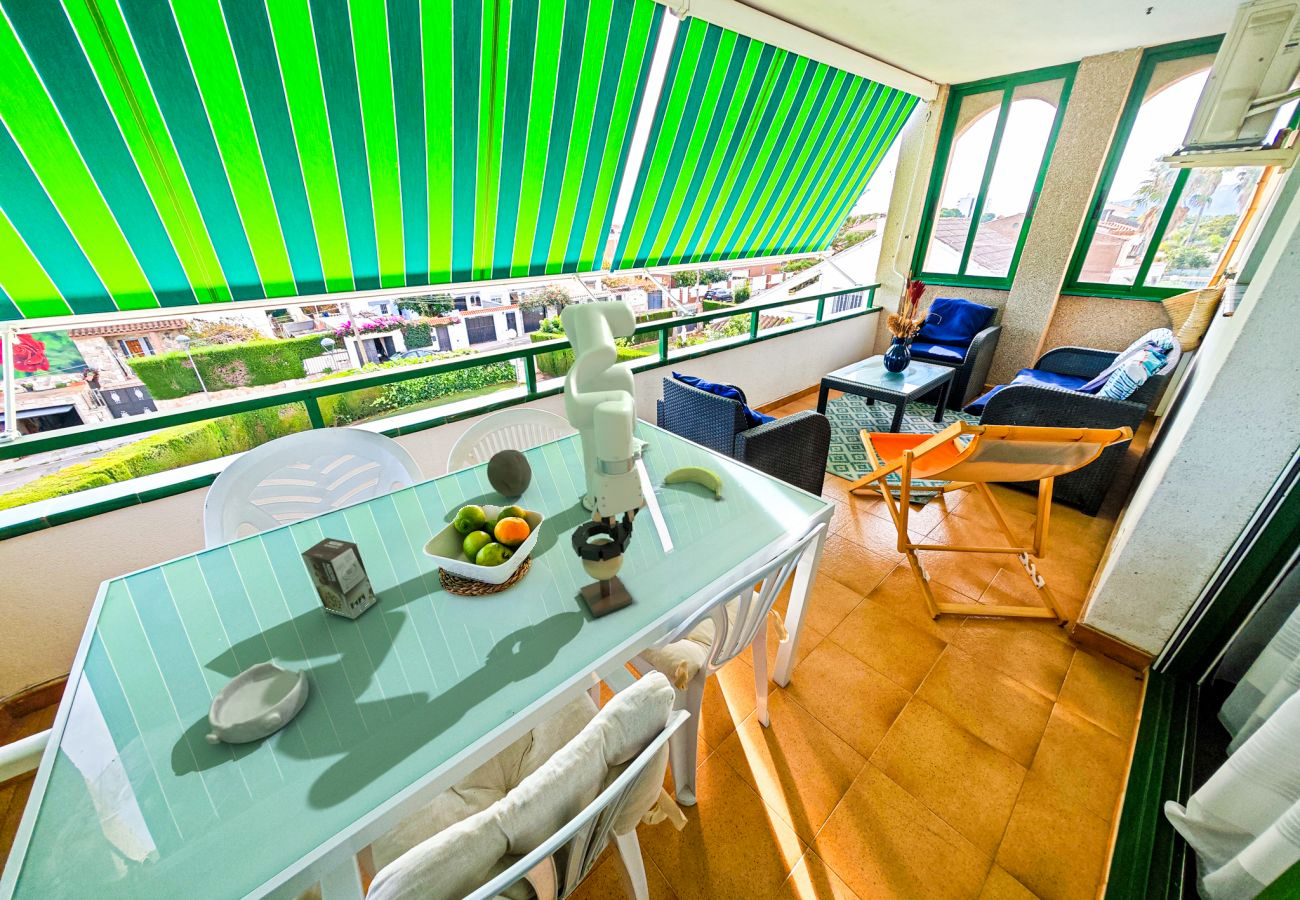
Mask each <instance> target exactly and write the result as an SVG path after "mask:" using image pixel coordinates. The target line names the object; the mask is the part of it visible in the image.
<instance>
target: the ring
mask: <svg viewBox="0 0 1300 900" xmlns="http://www.w3.org/2000/svg"><path fill="white" fill-rule="evenodd" d="M615 523H616V525H617V527H618V535H617V536H616V538H615V539H614V540H613V541H612V542H609V543H606V544H603V545H596V544H590V542H588V540H589V539H590V538H592V537H594V536H598V535H602V534H603V535H608V536H609V533H608V525H606V524H605V523H603V522H595V521H593V520H590V521H587V522H584V523H583V522H582V525H579V526H578V527H577V528H576V529H575V531H574V532H573V533H572V535H571V546H572V550H573V551H574V552H575V554H576V556H577V557H578V558H580V557H581V560H582V559H585V560H591V561H596V562H599V561H600V560H601V558H602V560H603V561H607V560H610V559H612V558H615V557H618V556H621V553H623V554H625V553H626V551H627V549H628V547H629V546H630V543H631V538H630V534H629V530H628V529H627V528H626V527H625V526H624V525H623V523H622V521H621V522H620V521H619V520H616V519H615Z"/></svg>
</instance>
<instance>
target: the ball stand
mask: <svg viewBox="0 0 1300 900" xmlns="http://www.w3.org/2000/svg"><path fill="white" fill-rule="evenodd" d="M612 541H614V540H613V539H612V538H606V537H599V538H596V539H594V540H592V541H590V542H589V543H590V544H596V545H603V544H606V543H609V542H612ZM581 564H582V567H583V570H584V571H585V573H586V574H587V575H588V576H589V577H590V578H592V579H594V580H597V581H595V582H593V583H590V584H587V585H585V586H582V587H580V588H579V589H580V594H581V595H582V597H583V599H584V601H585V603H586V604H587V606H588V608H589V610H590V611H591V612H592V615H593V617H594V618H595V619H596V618H599V617H601V616H603V615H606V614H608V613H611V612H615V611H617V610H618V609H621V608H624V607H626V606H629V605H631V604H633V597H632V596H631V594H630V593H629V592H628V590H627V589H626V587H625V586H624V585H623V583H622V582H621V580H620V579H619V578H618V576H617V575H618V573H619V572H620V571H621V569H622V568H623V564H624V553H621V556H618V557H615V558H612V559H610V560H607V561H603V560H602V558H601V560H600V561H599V562H596V561H591V560H585V559H582V558H581Z"/></svg>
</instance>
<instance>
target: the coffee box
mask: <svg viewBox="0 0 1300 900" xmlns="http://www.w3.org/2000/svg"><path fill="white" fill-rule="evenodd" d="M300 556H301V558H302V560H303V562H304V565H305V566H306V569H307V571H308V574H309V577H310V578H311V580H312V583H313V585H314V588H315V589H316V592H317V594H318V596H319V598H320V601H321V603H322V606H323V608H324V607H325V608H324V611H326V612H327V613H332V614H335V615H338V616H342V617H345V618H349V619H352V620H355V619H357V618H358V617H359V616H360V615H362V614H363V613H364V612H365V611H367V610H368V609H370V607H371V606H372V605H374V604H375V603H376V602H377V598H376V595H375V593H374V589H373V586H372V584H371V581H370V579H369V576H368V572H367V570H366V567H365V564H364V561H363V558H362V556H361V553H360V550H359V548H358V544H357V543H355V542H352V541H351V542H350V541H346V540H341V539H336V538H331V537H326V538H324V539H323V540H321V541H319V542H317V543H315V544H314V545H313V546H311V547H310V548H309V549H307V550H305V551H304V552H301V554H300ZM374 598H375V599H374ZM373 599H374V600H373ZM372 600H373V601H372ZM371 601H372V602H371ZM368 603H369V604H368ZM367 604H368V605H367ZM366 605H367V606H366ZM365 606H366V607H365ZM326 608H328V609H326ZM329 609H331V610H329ZM332 610H334V611H332ZM360 610H361V611H360ZM336 611H338V612H336ZM339 612H341V613H339ZM342 613H344V614H342ZM346 614H347V615H346ZM349 615H350V616H349Z"/></svg>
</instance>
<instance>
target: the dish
mask: <svg viewBox="0 0 1300 900" xmlns="http://www.w3.org/2000/svg"><path fill="white" fill-rule="evenodd" d="M309 690H310V689H309V680H308V677H307V674H306V671H305V670H304V669H303V668H300V669H299V670H298V672H295V671H292V670H289V669H287V668H285V667H282V666H280V665H278V664H276V663H274V662H271V661H267V662H262V663H256V664H252V666H250V667H249V668H248V669H246V670H244V671H242V672H241V673H239V674H238V675H236V676H234V677H233V678H232V679H230V681H229V682H227V683H225V685H224V686H222V687H221V688H220V689H219V691H218V693H217V695H216V696H215V697H213V698H212V700H211V703H210V705H209V709H208V715H207V717H208V718H207V719H208V724H209V726H210V728H211V732H210V733H208V734H206V735H205V738H204V739H205V741H206V742H207V743H208V744H210V745H218V744H220V743H221V742H226V743H229V744H244V743H249V742H250V743H251V742H253V741H257V740H259V739H262V738H263V739H264V738H265V737H268V736H269V735H272V734H273V733H275V732H277V731H279V730H280V729H282V728H283V727H284V726H286V725H287V724H288V723H289V722H291V720H293V719H294V718H295V717H296V716H297V715H298V713H299V712H300V710H301V709H302V708H303V707H304V705H305V704H306V702H307V700H308V697H309Z"/></svg>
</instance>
